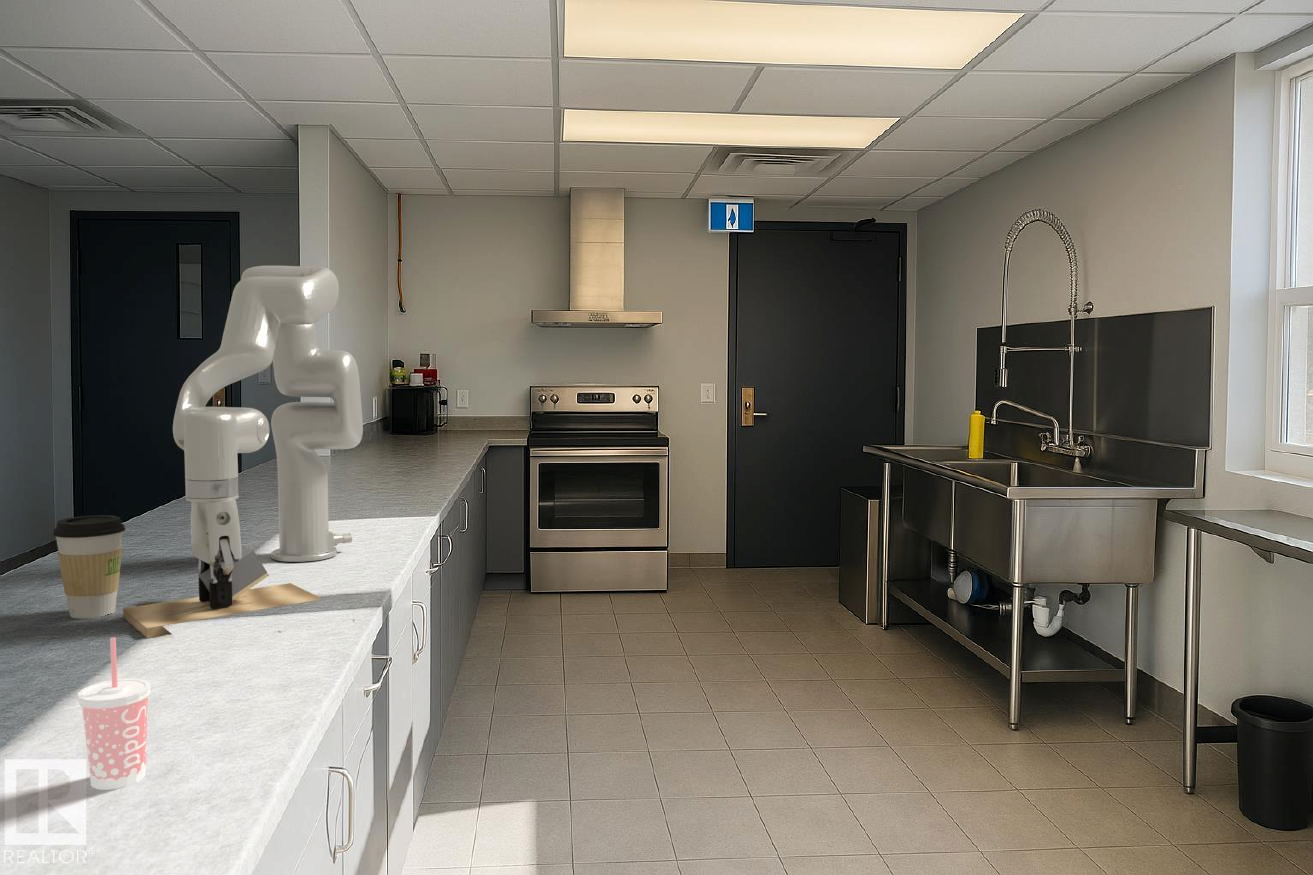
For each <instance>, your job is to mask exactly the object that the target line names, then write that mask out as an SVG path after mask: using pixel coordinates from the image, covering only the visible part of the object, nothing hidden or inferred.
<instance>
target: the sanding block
mask: <svg viewBox="0 0 1313 875" xmlns="http://www.w3.org/2000/svg"><path fill="white" fill-rule="evenodd" d="M241 551H242V558H241V560H240V561H238V562H236V561H233V564H234V567H233V569H232V601H233V600H234V599H236V598H237V597H239V596H240V595H241V594H243V593H244V592H246V591H247V590H249V589H253V587H254V586H256V585H258V584H259V583H260V582H261V581H264V580H265V579H266V578H267V577H269V576H270V575H269V573H268V571H267V570H266V568H265V566H264V564H262V562H261V560H260V559H259V557H258V555H257V554H256V553H255V552H256V551H255V550H252V549H250V548H248V547H246V546H241ZM219 562H222V560H219ZM219 568H221V566H219V567H216V572H217V570H218V569H219ZM198 577H200V579H201V580H202V582H203V583H204V585H205V586H206V588H207V589H208V591H209V583H212V581H211V571H210V568H209V569H208V570H206V571H205V572H203V573H202V574H200V575H198Z"/></svg>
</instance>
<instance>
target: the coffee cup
mask: <svg viewBox="0 0 1313 875" xmlns="http://www.w3.org/2000/svg"><path fill="white" fill-rule="evenodd" d="M124 531H126V527H125V524H124V523H123V522H122V520H121V517H120V516H117V515H110V514H109V515H107V514H105V515H104V514H101V515H99V514H98V515H97V514H96V515H82V516H74V517H73V516H72V517H67V518H63V519H59V520H57V522H56V526H55V528H54V529H53V531H52V536H53V537H55V539H56V544H57V550H58V551H57V558H58V563H59V568H60V569H59V570H60V573H61V579H62V583H63V584H62V585H63V590H64V594H65V595H66V599H67V601H66V602H67V607H68V612H69V613H68V614H69V617H70V618H73V619H82V620H83V619H94V618H101V616H102V617H105V615H106V616H108V615H107V614H110V613H112V614H114V613H115V612H116V606H117V595H118V590H119V585H120V584H119V583H120V574H121V562H122V552H123V547H122V539H123V532H124ZM110 615H111V614H110Z"/></svg>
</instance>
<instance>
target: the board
mask: <svg viewBox="0 0 1313 875" xmlns="http://www.w3.org/2000/svg"><path fill="white" fill-rule="evenodd" d="M321 600H323V598H322V597H319V595H316V594H313V593H312V592H309V591H308V590H305V589H303V588H302V587H299V586H297V585H295V584H293V583H291V582H290V583H289V582H288V583H284V584H283V583H281V584H275V585H270V586H263V587H256V588H250V589H249V590H247V591H246V592H244V593H243V594H241V595H240V596H239V597H237V598H236V599H234V600H233V601H232V605H231V606H228V607H222V608H216V609H212V608H210V601H207V602H201V601H200V600H199V596H195V597H189V598H183V599H182V598H181V599H176V600H170V601H163V602H156V603H151V604H143V605H137V606H135V605H134V606H130V607H129V606H128V607H124V608H123V609H122V611H123V614H122V615H123V619H124V618H125V619H126V620H125V619H124V620H125V621H126V622H128V623H129V624H130V623H131V624H132V625H133V626H132V625H131V624H130V625H131V626H132V627H134V629H135V630H137V631H138V632H139V631H140V632H141V633H140V632H139V633H140V634H142V635H143V636H144V637H145V636H146V637H147V638H146V637H145V638H146V639H150V638H149V637H152V638H155V636H157V637H163V636H167V635H168V636H169V635H172V632H170V631H169V630H168V629H166V628H165V627H164V626H170V625H176V624H182V623H188V622H194V621H195V622H196V621H200V620H207V619H212V618H218V617H225V616H230V615H237V614H242V613H243V614H244V613H248V612H254V611H260V610H265V609H273V608H278V607H284V606H289V605H295V604H302V603H308V602H314V601H321Z"/></svg>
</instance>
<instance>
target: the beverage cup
mask: <svg viewBox="0 0 1313 875" xmlns="http://www.w3.org/2000/svg"><path fill="white" fill-rule="evenodd" d="M116 640H117V638H116V637H114V636H113V637H109V644H110V645H109V646H110V647H109V649H110V671H111V673H110V674H111V679H110V680H106V681H105V680H103V681H100V682H98V683H94V684H90V685H89V686H86V687H84V688H82V689H81V690H80V691H79V692H78V693H77V698H78V705H79V706H80V707H81V709H82V719H83V726H84V728H83V729H84V735H85V736H84V737H85V743H86V744H85V745H86V746H85V747H86V753H87V754H86V756H87V760H88V761H87V762H88V771H89V772H88V773H89V778H90V780H89V782H90V785H91V787H92V788H94V789H96V790H101V791H102V790H104V791H107V790H109V791H110V790H116V789H122V788H125V787H130V786H131V785H134V784H137V783H138V782H140V781H141V780H143V779H144V777H145V776H146V766H147V736H148V735H147V733H148V732H147V731H148V706H149V704H148V703H149V695H151V693H152V692H151V688H152V683H151V682H150V681H149V680H146V679H143V678H132V677H131V678H118V664H117V662H118V661H117V660H118V659H117V641H116Z"/></svg>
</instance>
